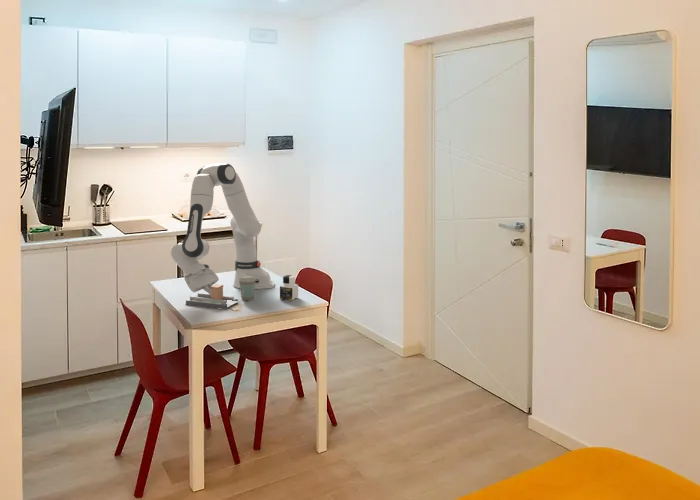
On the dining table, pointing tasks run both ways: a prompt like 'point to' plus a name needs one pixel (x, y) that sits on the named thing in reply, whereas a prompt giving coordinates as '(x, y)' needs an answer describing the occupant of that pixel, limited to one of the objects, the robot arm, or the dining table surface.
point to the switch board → (209, 301)
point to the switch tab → (217, 292)
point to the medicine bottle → (288, 288)
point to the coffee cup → (247, 286)
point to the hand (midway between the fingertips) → (212, 293)
